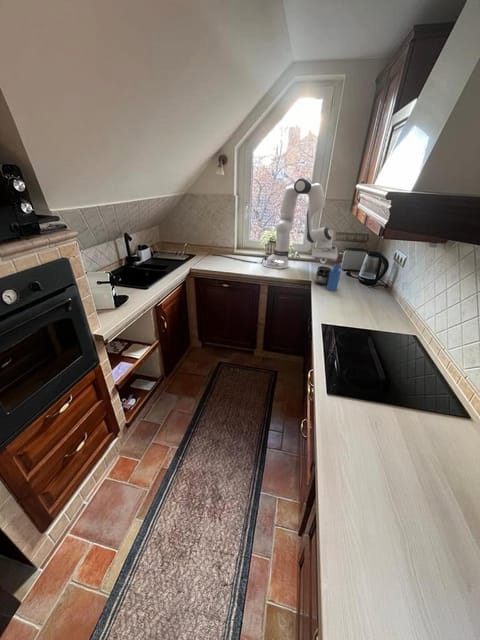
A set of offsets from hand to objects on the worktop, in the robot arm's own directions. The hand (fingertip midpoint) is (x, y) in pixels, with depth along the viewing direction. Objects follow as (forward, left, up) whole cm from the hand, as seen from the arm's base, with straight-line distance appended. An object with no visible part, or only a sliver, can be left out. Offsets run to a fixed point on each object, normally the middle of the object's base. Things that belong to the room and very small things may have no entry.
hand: (322, 263), depth 203 cm
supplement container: (+1, -17, -10) cm, 20 cm away
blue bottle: (+9, -27, -10) cm, 30 cm away
